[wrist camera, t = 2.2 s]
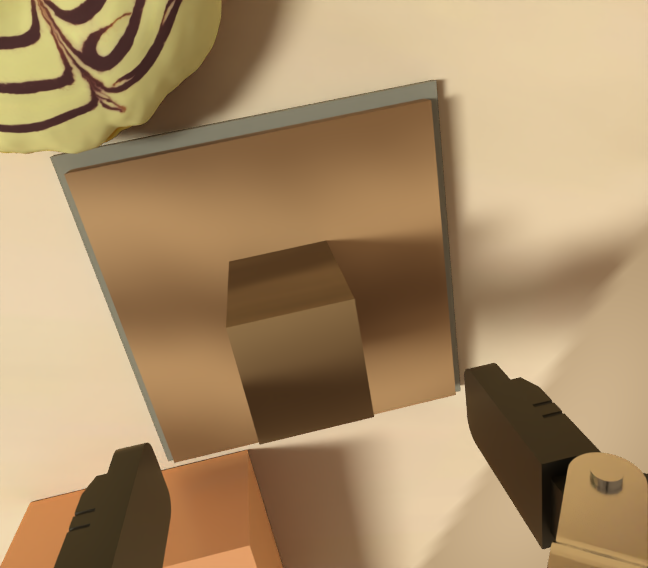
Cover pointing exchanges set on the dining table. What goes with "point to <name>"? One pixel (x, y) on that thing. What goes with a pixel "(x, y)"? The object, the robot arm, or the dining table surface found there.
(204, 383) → the lid
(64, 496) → the open box
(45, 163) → the dining table surface
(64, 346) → the dining table surface
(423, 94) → the mat
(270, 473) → the dining table surface
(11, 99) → the decorated donut
